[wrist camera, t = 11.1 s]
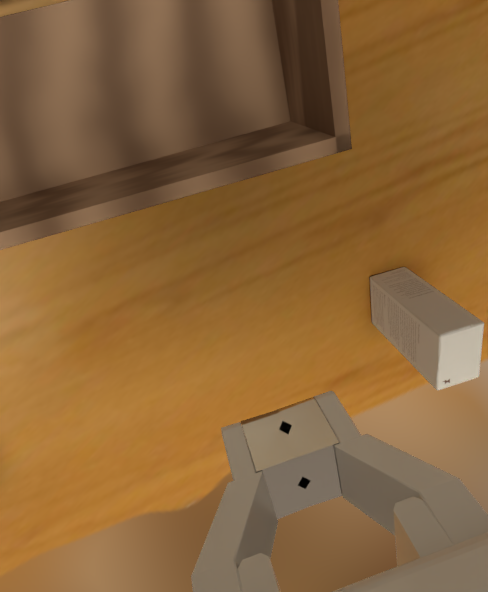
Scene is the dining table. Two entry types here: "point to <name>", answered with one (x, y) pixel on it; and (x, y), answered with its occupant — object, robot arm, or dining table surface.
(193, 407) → the dining table surface
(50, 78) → the crate
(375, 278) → the skincare box
